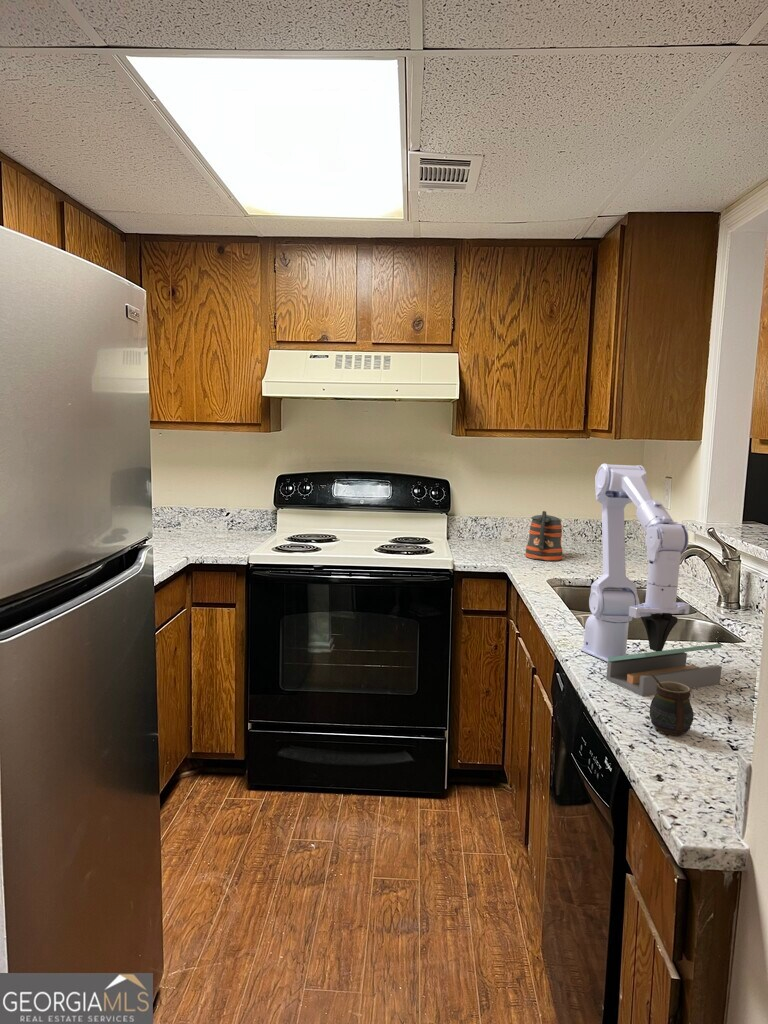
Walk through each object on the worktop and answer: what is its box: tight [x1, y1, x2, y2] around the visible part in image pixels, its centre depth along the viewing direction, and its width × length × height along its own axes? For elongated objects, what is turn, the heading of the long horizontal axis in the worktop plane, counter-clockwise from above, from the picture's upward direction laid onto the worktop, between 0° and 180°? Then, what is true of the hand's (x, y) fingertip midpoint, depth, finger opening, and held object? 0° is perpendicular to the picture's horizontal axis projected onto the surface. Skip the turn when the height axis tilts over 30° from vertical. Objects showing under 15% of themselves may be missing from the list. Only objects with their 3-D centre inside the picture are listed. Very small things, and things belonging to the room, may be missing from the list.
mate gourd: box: [649, 674, 695, 737], centre depth 128 cm, size 7×8×10 cm
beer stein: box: [525, 510, 563, 562], centre depth 291 cm, size 19×15×20 cm
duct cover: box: [608, 643, 722, 661], centre depth 153 cm, size 10×22×1 cm, turn 117°
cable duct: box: [605, 652, 723, 697], centre depth 154 cm, size 11×22×4 cm, turn 116°
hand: (655, 650), depth 148 cm, fingers closed, pressing on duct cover
